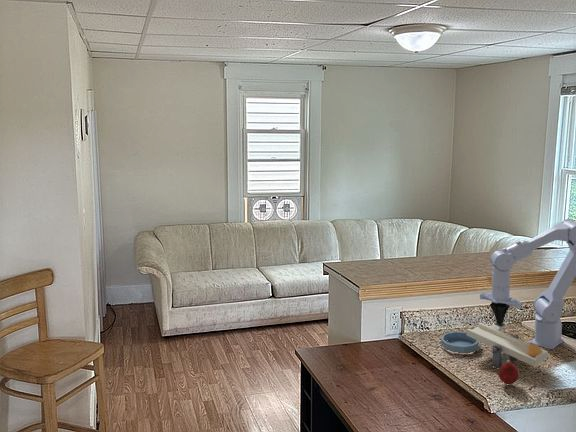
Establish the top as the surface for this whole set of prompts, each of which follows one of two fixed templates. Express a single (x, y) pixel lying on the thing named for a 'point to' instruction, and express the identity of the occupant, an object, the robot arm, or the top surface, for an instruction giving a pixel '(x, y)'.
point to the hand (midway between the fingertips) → (499, 322)
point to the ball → (533, 350)
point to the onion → (508, 373)
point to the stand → (497, 357)
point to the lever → (505, 342)
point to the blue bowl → (459, 342)
